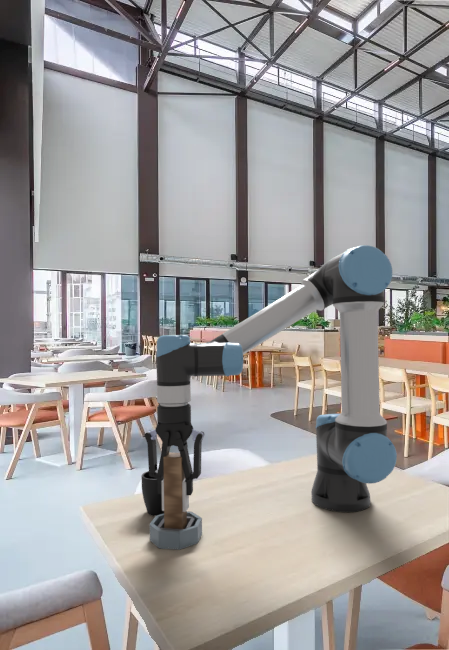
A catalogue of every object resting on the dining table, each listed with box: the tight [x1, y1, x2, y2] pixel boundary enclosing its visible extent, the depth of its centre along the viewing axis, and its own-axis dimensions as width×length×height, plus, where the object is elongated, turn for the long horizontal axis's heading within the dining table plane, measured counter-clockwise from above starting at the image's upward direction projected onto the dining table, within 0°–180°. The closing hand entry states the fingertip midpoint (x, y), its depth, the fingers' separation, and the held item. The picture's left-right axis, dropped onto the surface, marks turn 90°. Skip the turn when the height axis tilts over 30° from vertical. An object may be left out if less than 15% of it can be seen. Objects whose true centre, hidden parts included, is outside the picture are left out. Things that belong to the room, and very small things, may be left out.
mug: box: [141, 468, 164, 517], centre depth 107 cm, size 8×12×10 cm
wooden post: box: [163, 451, 188, 529], centre depth 95 cm, size 4×4×16 cm
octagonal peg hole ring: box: [149, 510, 203, 551], centre depth 95 cm, size 11×11×4 cm
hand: (175, 508), depth 95 cm, fingers closed on wooden post, 4 cm apart
